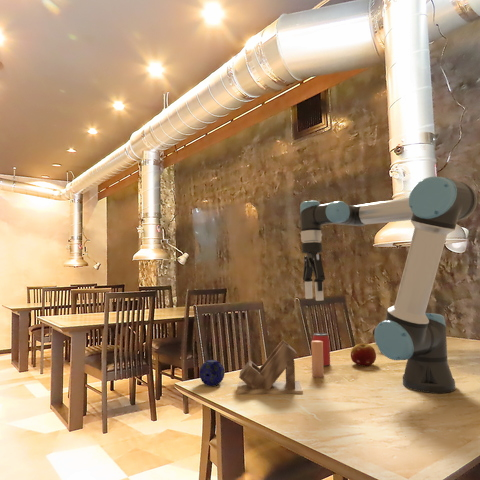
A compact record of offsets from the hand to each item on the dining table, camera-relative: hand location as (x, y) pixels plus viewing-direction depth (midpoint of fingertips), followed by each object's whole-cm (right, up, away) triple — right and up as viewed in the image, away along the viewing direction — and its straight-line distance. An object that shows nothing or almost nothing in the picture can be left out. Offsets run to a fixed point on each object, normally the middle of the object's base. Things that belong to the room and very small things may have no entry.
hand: (314, 299), depth 150 cm
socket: (-18, -27, -21) cm, 39 cm away
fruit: (+21, -27, +8) cm, 35 cm away
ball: (-37, -26, -15) cm, 48 cm away
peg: (0, -26, -7) cm, 27 cm away
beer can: (+5, -27, +10) cm, 29 cm away
